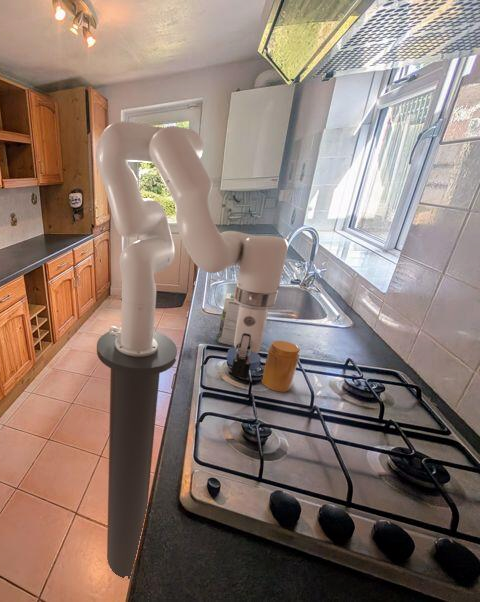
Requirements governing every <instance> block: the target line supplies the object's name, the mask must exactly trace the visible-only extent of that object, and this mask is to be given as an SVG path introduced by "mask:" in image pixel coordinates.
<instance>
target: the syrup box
mask: <svg viewBox="0 0 480 602" xmlns="http://www.w3.org/2000/svg"><path fill="white" fill-rule="evenodd" d="M234 299H235V293H227V295H226V297H225V299H224V303H223V310H222V313H221V318H220V324H219V330H218V333H217V334H218V335H217V340H216V342H217V343H219V344H224V345H228V346H233V347H234V340H235V331H236V324H237V318H238V312H239V306H240V305H239V304H237V303H236V302H235V300H234Z"/></svg>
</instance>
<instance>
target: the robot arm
mask: <svg viewBox="0 0 480 602" xmlns="http://www.w3.org/2000/svg"><path fill="white" fill-rule="evenodd" d="M95 153H96V155H95V159H96V165H97V171H98V173H99V176H100V178H101V181H102V184H103V186H104V189H105V193H106V197H107V201H108V205H109V209H110V212H111V216H112V219H113V222H114V227H115V229H116V232H117V233H118V234H119V235H120V237H123V238H135V237H140V240H137V241H134V242H131V243H129V244H128V245H126V246H125V247H124V248H123V249H122V251H121V252H120V254H119V261H118V263H119V271H120V278H121V308H120V309H121V310H120V315H121V316H120V327H117V326H114V325H110V327H109V332H110V335H111V336H116V337H117V339H116V341H115V346H116V348H117V349H118V350H119V351H120V352H121V353H123V354H126V355H129V356H135V357H143V356H149V355H151V354H153V353H155V352H156V351H157V348H158V343H157V341H156V340H155V339H154V338H153V331H155V330H154V327H155V315H156V304H157V285H156V281H155V277H154V274H155V273H157V272H160V271H162V270H164V269H166V268H168V267H170V265H171V264H172V263H173V261H174V259H175V253H176V251H175V245H174V244H175V243H174V239H173V235H172V232H171V228H170V224H169V220H168V216H167V213H166V211H165V208H164V207H163V206H162V204H161V203H160V202H159V201H157V200H156V199H152V198H143V195H142V193H141V189H140V185H139V181H138V178H137V177H136V174H135V172H134V171H133V170H132V169H131V167H130V165H129V162H138V163H139V162H141V163H149V164H153V165H154V167H155V168H156V170H157V173H158V174H159V176H160V178H161V180H162V181H163V183H164V185H165V188H166V189H167V191H168V193H169V195H170V197H171V199H172V200H173V202H174V205H175V220H176V227H177V231H178V235H179V237H180V240H181V242H182V244H183V246H184V248H185V250H186V252H187V253H188V255H189V257H190V259H191V260H192V262H193V263H194V264H195V265H196V267H198V268H199V269H200V270H201V271H203V272H205V273H209V274H215V273H217V274H218V273H220V272H222V271H224V270H227V269H229V268H230V267H234V266H237V265H238V266H239V270H238V277H237V280H236V281H237V283H236V288H235V293H234V294H235V299H234V300H235V302H236V303H237V304H239V305H240V306H239V312H238V318H237V324H236V331H235V340H234V346H233V348H236V349H237V351H236V356H235V359H234V361H233V366H232V365H231V373H230V375H231V376H233V377H237V378H239V379H243V380H247V379H248V377H249V371H250V370H249V367H250V363H249V360H250V356H251V352H254V353H256V354H259V353H260V351H261V346H262V342H263V337H264V333H265V328H266V324H267V321H268V315H269V310H270V309H273V308H275V306H276V303H277V297H278V294H279V290H280V289H279V288H280V284H281V280H282V275H283V271H284V267H285V262H286V257H287V254H288V253H287V252H288V248H289V244H288V241H287V239H286V238H283V237H281V236H276V235H267V234H265V235H264V234H263V235H262V234H261V235H260V234H259V235H256V234H255V235H254V234H250V233H245V232H241V231H236V230H225V231H222V232H220V231H219V229H218V227H217V225H216V223H215V222H214V220H213V217H212V215H211V211H210V206H209V198H210V195H211V191H212V188H213V179H212V178H211V176H210V175H209V173H208V170H207V169H206V168H205V166H204V164H203V162H202V160H201V157H202V155H203V153H204V143H203V139H202V137H201V135H200V134H199V133H198V132H197V131H195V130H193V129H192V128H187V127H186V128H185V127H182V126H176V125H170V126H166V127H162V126H154V125H148V124H143V123H138V122H133V121H125V120H124V121H123V120H122V121H116V122H113V123H111V124H109V125H108V126H107V127H105V129H104V130H103V131H102V133H101V134H100V136H99V139H98V142H97V145H96V152H95ZM239 351H240V352H239ZM247 352H248V356H246V353H247Z"/></svg>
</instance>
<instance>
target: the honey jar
mask: <svg viewBox="0 0 480 602" xmlns="http://www.w3.org/2000/svg"><path fill="white" fill-rule="evenodd" d="M300 350H301V349H300V348H299V346H297V345H296V344H294V343H293V342H290V341H284V340H274V341H273V342H272V343H271V345H270V346H269V348H268V350H267V351H268V352H267V355H266V358H265V363H264V368H263V371H262V375H263V379H262V378H261V379H260V380H261V383H262V385H264V386H265V388H268V389H270V390H271V391H274V392H280V393H281V392H283V393H284V392H289V390H291V386H292V383H293V380H294V376H295V373H296V370H297V367H298V363H299V360H300V354H299V352H300Z"/></svg>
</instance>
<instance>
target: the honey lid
mask: <svg viewBox="0 0 480 602" xmlns="http://www.w3.org/2000/svg"><path fill="white" fill-rule="evenodd" d="M236 351H237V349H236V348H235V347H232V348H229V349H228V350H227V354H226V361H227V363H228V364H230V366H231V367H232V366H233V361H234V359H235V356H236ZM239 352H240V351H239ZM246 356H248V352H247V353H246ZM249 363H250V367H249V371H255V370H257V369H259V367H260V366H261V363H262V357H261V355H260V354H259V353H257V354H256V353H254V352H251V356H250V360H249Z"/></svg>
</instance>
